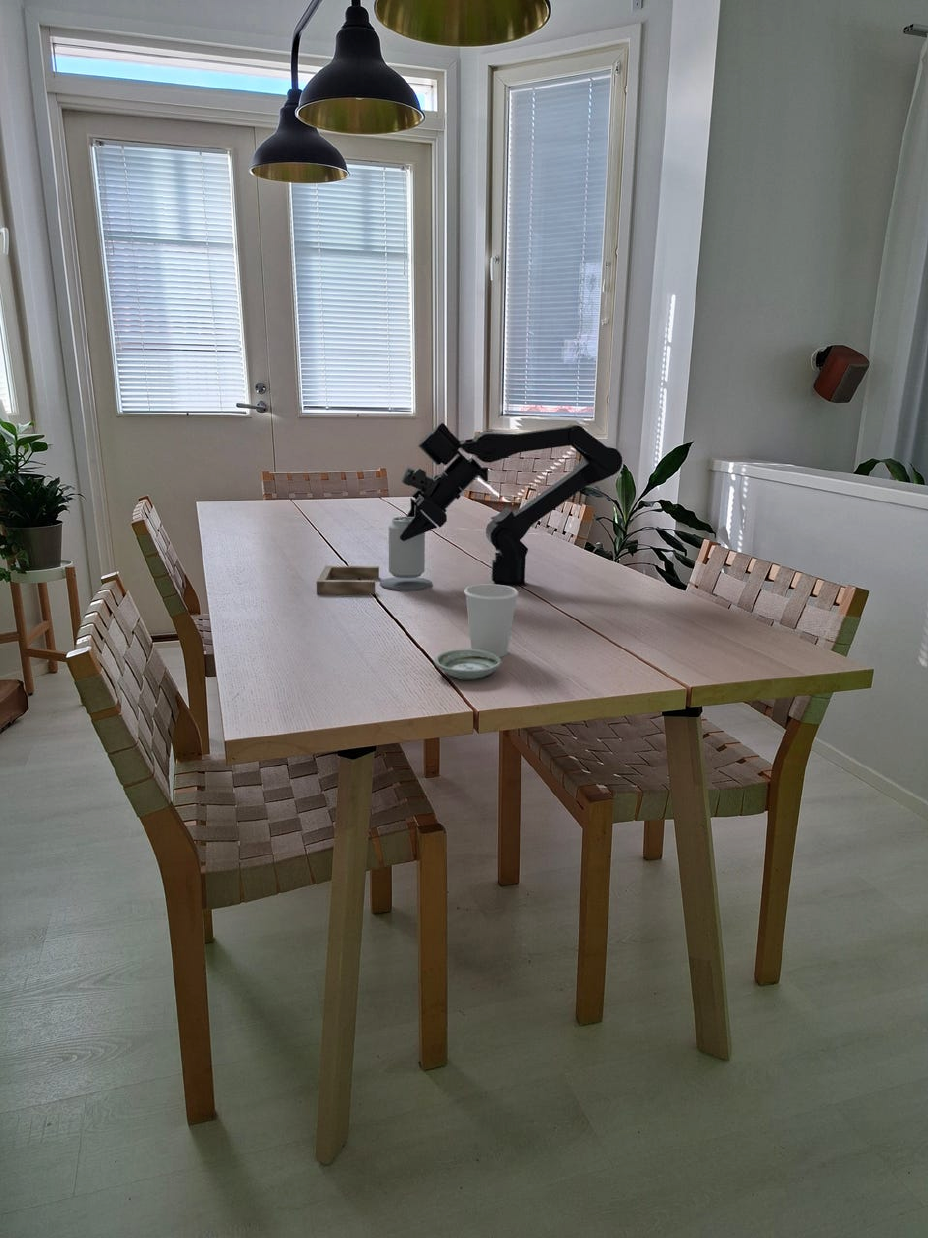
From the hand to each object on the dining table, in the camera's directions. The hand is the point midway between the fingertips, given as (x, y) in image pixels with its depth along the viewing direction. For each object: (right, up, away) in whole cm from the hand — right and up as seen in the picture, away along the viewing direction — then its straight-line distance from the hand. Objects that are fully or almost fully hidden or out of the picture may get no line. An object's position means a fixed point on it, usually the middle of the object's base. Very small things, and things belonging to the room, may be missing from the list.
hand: (400, 536), depth 166 cm
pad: (+1, -10, +3) cm, 10 cm away
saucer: (+14, -25, -49) cm, 57 cm away
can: (+1, -8, +2) cm, 9 cm away
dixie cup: (+17, -22, -39) cm, 49 cm away
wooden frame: (-10, -10, +1) cm, 14 cm away
